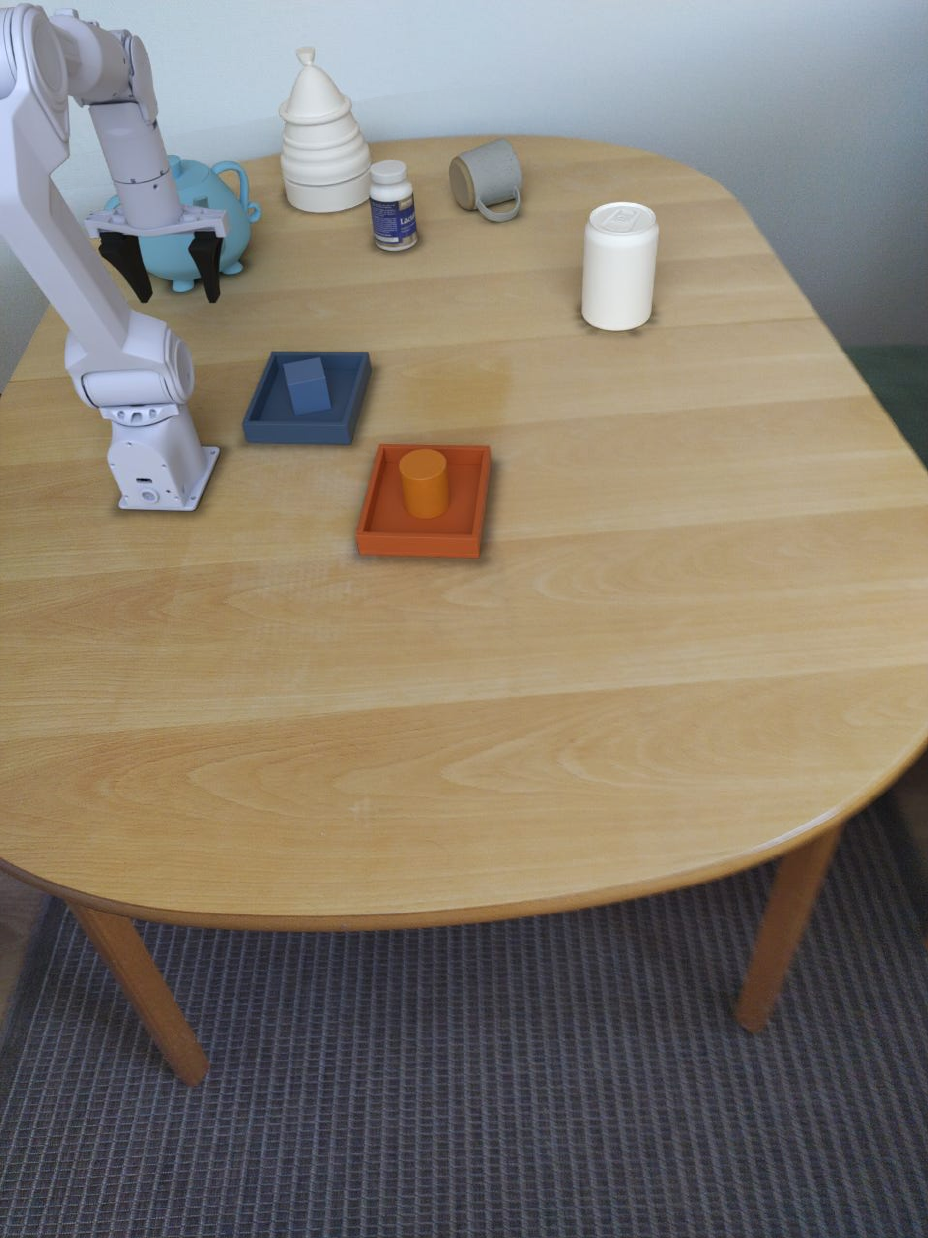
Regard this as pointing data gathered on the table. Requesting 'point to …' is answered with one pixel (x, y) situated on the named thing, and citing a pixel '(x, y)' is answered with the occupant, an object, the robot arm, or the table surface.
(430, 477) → the amber cylinder
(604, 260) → the beverage can
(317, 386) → the blue block
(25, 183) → the robot arm
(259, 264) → the table surface
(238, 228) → the teapot
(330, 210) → the honey pot
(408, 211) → the pill bottle
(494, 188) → the ceramic mug
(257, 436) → the blue tray
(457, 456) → the orange tray
